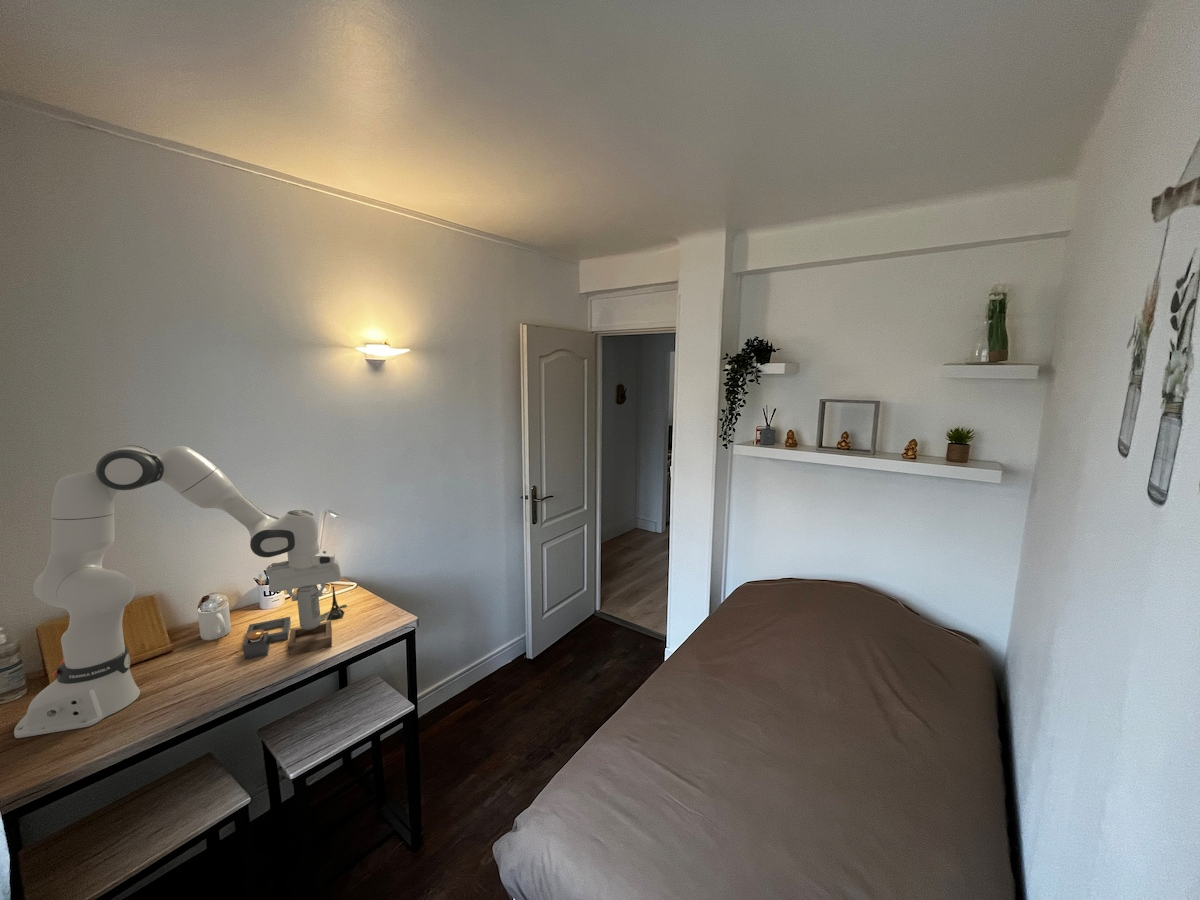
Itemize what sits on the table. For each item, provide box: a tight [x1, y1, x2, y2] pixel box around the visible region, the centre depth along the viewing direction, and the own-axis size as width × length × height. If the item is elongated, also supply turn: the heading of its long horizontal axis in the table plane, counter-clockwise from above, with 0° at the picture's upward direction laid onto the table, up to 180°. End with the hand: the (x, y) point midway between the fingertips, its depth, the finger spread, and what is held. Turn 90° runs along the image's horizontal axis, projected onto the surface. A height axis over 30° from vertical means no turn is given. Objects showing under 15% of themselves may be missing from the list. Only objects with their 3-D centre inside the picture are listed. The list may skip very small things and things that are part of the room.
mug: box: [197, 600, 232, 641], centre depth 161 cm, size 12×8×10 cm
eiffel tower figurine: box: [320, 585, 348, 623], centre depth 176 cm, size 15×10×13 cm
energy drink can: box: [296, 585, 322, 630], centre depth 158 cm, size 6×6×15 cm
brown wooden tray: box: [287, 620, 333, 658], centre depth 159 cm, size 12×12×4 cm
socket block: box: [242, 616, 292, 661], centre depth 159 cm, size 12×20×5 cm, turn 29°
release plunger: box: [247, 629, 265, 643], centre depth 152 cm, size 4×4×6 cm
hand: (307, 598), depth 157 cm, fingers closed on energy drink can, 6 cm apart
